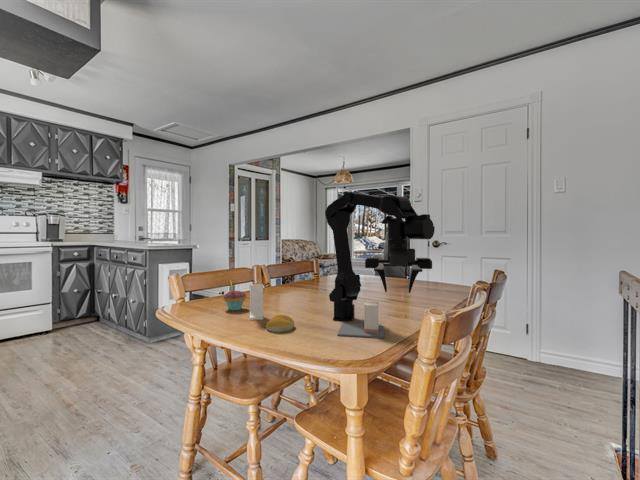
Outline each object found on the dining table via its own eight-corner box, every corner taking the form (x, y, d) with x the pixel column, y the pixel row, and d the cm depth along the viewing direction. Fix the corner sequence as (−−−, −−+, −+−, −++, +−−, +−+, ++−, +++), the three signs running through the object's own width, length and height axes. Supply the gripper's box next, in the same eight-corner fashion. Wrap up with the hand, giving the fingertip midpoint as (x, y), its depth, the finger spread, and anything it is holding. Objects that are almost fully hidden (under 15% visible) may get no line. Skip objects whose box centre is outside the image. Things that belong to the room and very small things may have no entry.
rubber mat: (337, 335, 96) (337, 334, 96) (342, 325, 107) (342, 323, 107) (383, 338, 94) (383, 336, 94) (383, 327, 105) (383, 325, 105)
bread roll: (263, 332, 100) (262, 319, 100) (272, 324, 109) (272, 312, 109) (289, 334, 99) (289, 320, 99) (297, 325, 108) (297, 313, 108)
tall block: (364, 332, 98) (364, 305, 98) (365, 327, 103) (365, 301, 103) (378, 333, 97) (378, 305, 97) (378, 328, 102) (378, 302, 102)
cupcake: (219, 311, 127) (219, 279, 127) (229, 306, 135) (229, 276, 135) (241, 311, 125) (241, 280, 125) (249, 306, 134) (249, 276, 134)
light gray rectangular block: (249, 320, 114) (249, 284, 114) (250, 315, 120) (249, 282, 119) (263, 319, 115) (263, 284, 114) (263, 315, 121) (263, 281, 120)
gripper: (364, 239, 92) (364, 296, 92) (435, 239, 88) (435, 298, 89) (365, 239, 103) (366, 289, 103) (429, 238, 99) (429, 291, 100)
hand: (397, 292), depth 98 cm, fingers open, 6 cm apart
